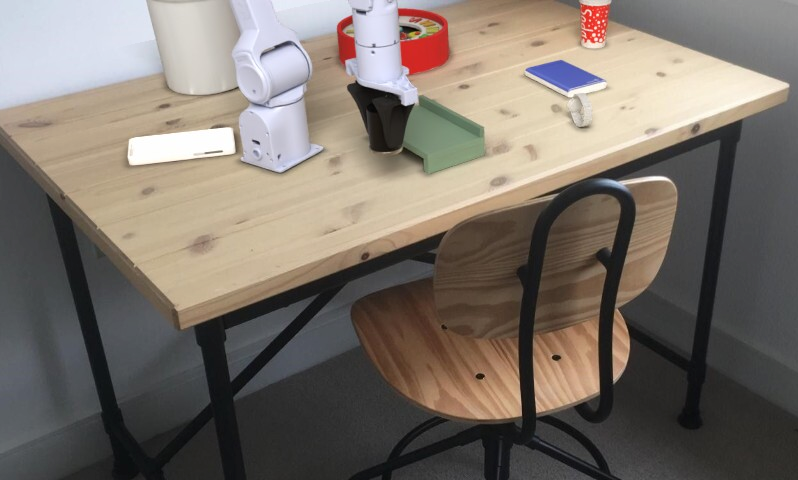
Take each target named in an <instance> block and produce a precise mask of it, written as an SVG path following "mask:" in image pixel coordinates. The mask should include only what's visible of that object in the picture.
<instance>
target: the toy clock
mask: <svg viewBox="0 0 798 480" xmlns="http://www.w3.org/2000/svg"><path fill="white" fill-rule="evenodd" d="M398 18H399V33H400V48H401V63H402V66H405V67H407V68H408V69H409V74H408V75H407V76H410V75H411V76H412V75H416V74H421V73H425V72H429V71H432V70H434V69H437V68H440V67H441V66H442V65H444V64H445V63H446V62H447V61H448V60H449V58H450V41H449V23H448V20H447V19H446V18H445V17H444V16H443V15H440V14H438V13H436V12H432V11H429V10H424V9H417V8H407V7H406V8H405V7H404V8H403V7H402V8H401V7H398ZM336 34H337V46H338V56H339V61H340V62H339V63H340V64H341V65H342V66H343V67H344V68H346V63H345V60H349V59H353V58H356V49H355V38H354V27H353V16H352V14H351V15H349V16H346V17H344V18H343V19H341V20H340V21H339V22H338V23H337V25H336Z"/></svg>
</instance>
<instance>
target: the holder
mask: <svg viewBox="0 0 798 480" xmlns="http://www.w3.org/2000/svg"><path fill="white" fill-rule="evenodd" d="M366 113H367V124H368V133H367V135H368V151H369V152H370V154H372V155H375V156H378V157H379V156H380V157H389V156H394V155H395V156H396V155H397V154H400V153H401V152H402V151H403V150H404V147H403V144H402V145H399V146H396V147H392V148H389V147H388V146H387V144H386V141H385V137H384V131H383V125H382V122H381V118H380V116H379V113H378V111H377V109H376V107H375V105H374V104H373V103H371V104H369V105H368V106H367V107H366Z"/></svg>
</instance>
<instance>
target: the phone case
mask: <svg viewBox="0 0 798 480" xmlns="http://www.w3.org/2000/svg"><path fill="white" fill-rule="evenodd" d="M127 147H128V148H127V160H128V164H129V166H142V165H151V164H152V165H153V164H161V163H168V162H178V161H185V160H186V161H187V160H195V159H202V158H209V157H210V158H212V157H220V156H230V155H234V154H236V153H237V147H236V141H235V133H234V128H233V127H228V126H227V127H219V128H210V129H201V130H191V131H183V132H182V131H181V132H173V133H163V134H154V135H144V136H135V137H131V138H129V139H128V146H127ZM221 151H222V152H221Z"/></svg>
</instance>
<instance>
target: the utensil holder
mask: <svg viewBox="0 0 798 480" xmlns="http://www.w3.org/2000/svg"><path fill="white" fill-rule="evenodd" d="M145 1H146V5H147V10H148V14H149V18H150V22H151V27H152V30H153V34H154V38H155V41H156V46H157V51H158V54H159V59H160V62H161V65H162V69H163V72H164V77H165V81H166V85H167V87H168V88H169V89H170V90H171V91H173V92H174V93H177V94H182V95H187V96H188V95H189V96H208V95H209V96H210V95H216V94H220V93H221V94H222V93H224V92H228V91H231V90H234V89H236V88H239V86H238V84H237V80H236V69H235V64H234V61H233V58H232V55H231V54H232V51H233V49H234V47H235V45H236V43H237V41H238V39H239V37H240V35H241V33H240V30H239V27H238V25H237V22H236V19H235V17H234V14H233V12H232V9H231V6H230V4H229V1H228V0H145Z"/></svg>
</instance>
